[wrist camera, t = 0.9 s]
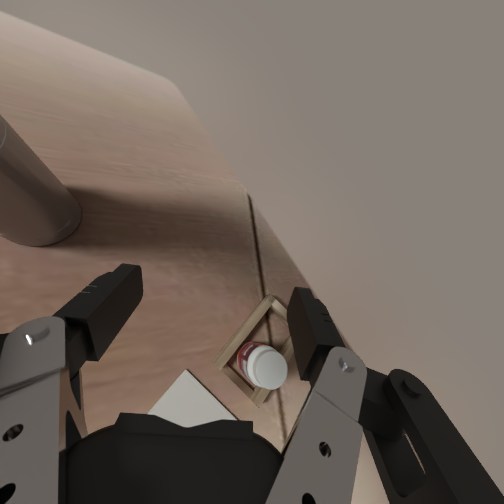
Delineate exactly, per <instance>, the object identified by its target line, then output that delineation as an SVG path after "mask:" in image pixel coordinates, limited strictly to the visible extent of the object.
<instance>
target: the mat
mask: <svg viewBox="0 0 504 504" xmlns="http://www.w3.org/2000/svg"><path fill="white" fill-rule="evenodd" d="M147 414H150V415H156V416H159V417H161V418H163V419H166V420H168V421H171V422H173V423H175V424H178V425H180V426H183V427H192V426H196V425H201V424H205V423H209V422H213V421H217V420H221V419H226V420H237V419H236V418H235V417H234V416H233V415H232V414H231V413H230V412H229V411H228V410H227V409H226V408H225V407H224V406H223V405H222V404H221V403H220V402H219V401H218V400H217V399H216V398H215V397H214V396H213V395H212V394H211V393H209V392H208V391H207V390H206V389H205V388H204V387H203V386H202V385H201V384H200V383H199V382H198V381H197V380H196V379H195V378H194V377H193V376H192V375H191V374H190V373H189V372H188V371H187V370H186V369H185V370H184V372H183V373H182V374H181V375H180V376H179V377H178V379H177V380H176V381H175V382H174V383H173V384H172V385H171V387H170V388H169V389H168V390H167V391H166V392H165V394H164V395H163V396H162V397H161V398H160V399H159V400H158V402H157V403H156V404H155V405H154V406H153V407H152V409H151V410H150V411H149V412H148V413H147Z"/></svg>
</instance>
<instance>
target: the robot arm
mask: <svg viewBox="0 0 504 504" xmlns="http://www.w3.org/2000/svg"><path fill="white" fill-rule="evenodd" d="M81 213H82V211H81V208H80V205H79V203H78V202H77V200H76V199H75V198H74V197H73V196H72V195H71V193H70V192H69V191H68V190H67V189H66V188H65V187H64V186H63V184H62V183H61V182H60V181H59V180H58V179H57V178H56V176H55V175H54V174H53V173H52V172H51V171H50V170H49V169H48V167H47V166H46V165H45V164H44V163H43V162H42V161H41V160H40V158H39V157H38V156H37V155H36V154H35V153H34V152H33V151H32V149H31V148H30V147H29V146H28V145H27V144H26V143H25V142H24V141H23V139H22V138H21V137H20V136H19V135H18V134H17V133H16V132H15V130H14V129H13V128H12V127H11V126H10V125H9V124H8V123H7V121H6V120H5V119H4V118H3V117H2V116H1V115H0V236H1V237H3V238H6V239H8V240H10V241H12V242H15V243H18V244H20V245H26V246H44V245H49V244H53V243H56V242H58V241H61V240H63V239H65V238H66V237H68V236H69V235H70V234H72V233H73V231H74V230H75V229H76V228H77V227H78V225H79V223H80V220H81ZM142 296H143V282H142V271H141V267H140V266H139V265H131V264H124V263H123V264H121V265H120V266H119V267H118V268H116V269H115V270H114V271H113V272H108V273H106V274H103V275H101V276H99V277H97V278H96V279H95V280H94V281H92V282H91V283H90V284H89V286H87V287H85V288H84V289H83V290H82V292H80V293H78V294H77V295H76V296H75V297H74V298H73V299H71V300H70V301H69V302H68V303H67V304H66V305H64V306H63V307H62V308H61V309H60V310H58V311H57V312H56V313H55V314H54V315H53V316H49V317H42V318H37V319H34V320H31V321H28V322H26V323H24V324H22V325H20V326H19V327H17V328H16V329H14V330H13V331H12V332H11V333H6V334H0V504H351V499H352V493H353V487H354V481H355V475H356V469H357V463H358V457H359V451H360V445H361V439H362V432H364V434H365V437H366V440H367V443H368V445H369V448H370V451H371V454H372V456H373V459H374V462H375V465H376V467H377V470H378V473H379V476H380V478H381V481H382V484H383V487H384V489H385V492H386V495H387V498H388V500H389V503H390V504H504V496H503V494H502V493H501V492H500V490H499V489H498V487H497V486H496V484H495V483H494V482H493V480H492V479H491V477H490V476H489V475H488V473H487V472H486V470H485V469H484V467H483V466H482V465H481V463H480V462H479V460H478V459H477V458H476V456H475V455H474V453H473V452H472V450H471V449H470V447H469V446H468V445H467V443H466V442H465V440H464V439H463V437H462V436H461V435H460V433H459V432H458V430H457V429H456V428H455V426H454V425H453V423H452V422H451V420H450V419H449V418H448V416H447V415H446V413H445V412H444V410H443V409H442V408H441V406H440V405H439V404H438V402H437V401H436V399H435V398H434V396H433V395H432V393H431V392H430V391H429V389H428V388H427V387H426V386H425V385H424V383H422V382H421V381H420V380H419V379H418V378H417V377H415V376H414V375H412V374H411V373H409V372H406V371H404V370H400V369H394V370H392V371H391V372H390V373H389V375H388V376H387V375H384V374H382V373H380V372H377V371H375V370H372V369H369V368H367V367H366V366H365V364H364V363H363V361H362V360H361V359H360V357H359V356H358V355H356V354H355V353H354V352H352V351H351V350H349V349H347V348H346V347H345V345H344V343H343V341H342V339H341V337H340V335H339V333H338V331H337V329H336V327H335V325H334V323H333V321H332V319H331V317H330V316H329V312H328V310H327V308H326V306H325V305H324V304H323V303H322V302H321V301H320V300H319V299H314V296H313V294H312V292H311V290H310V289H309V288H302V287H295V288H294V290H293V293H292V296H291V299H290V302H289V305H288V308H287V323H288V327H289V332H290V336H291V340H292V345H293V349H294V354H295V358H296V362H297V367H298V371H299V376H300V380H304V381H309V382H310V385H311V388H310V390H309V392H308V395H307V397H306V399H305V401H304V403H303V406H302V408H301V410H300V412H299V414H298V417H297V419H296V421H295V423H294V426H293V428H292V430H291V432H290V434H289V436H288V438H287V440H286V442H285V444H284V446H283V449H282V451H281V453H280V452H279V451H278V450H277V449H276V448H275V447H274V446H273V445H272V444H271V443H270V442H269V441H268V440H266V439H265V438H263V437H262V436H260V435H258V434H256V433H254V432H253V421H241V420H226V419H221V420H217V421H213V422H209V423H205V424H201V425H196V426H192V427H183V426H180V425H178V424H175V423H173V422H171V421H168V420H166V419H163V418H161V417H159V416H156V415H150V414H135V413H120V415H119V417H118V419H117V421H116V423H115V424H114V425H110V426H107V427H105V428H102V429H99V430H97V431H95V432H93V433H91V434H89V435H88V432H87V427H86V422H85V416H84V403H83V388H82V374H81V369H80V368H81V367H82V365H83V364H84V363H85V361H86V360H87V361H99V360H100V358H101V357H102V355H103V354H104V353H105V351H106V350H107V348H108V347H109V345H110V344H111V343H112V341H113V340H114V338H115V337H116V335H117V334H118V333H119V331H120V330H121V328H122V327H123V326H124V324H125V323H126V321H127V320H128V318H129V317H130V316H131V314H132V313H133V311H134V310H135V308H136V307H137V306H138V304H139V303H140V301H141V299H142ZM406 433H407V435H408V437H409V439H410V441H411V443H412V445H413V447H414V449H415V451H416V453H417V455H418V457H419V459H420V461H421V463H422V465H423V467H424V471H425V473H424V471H423V470H422V468H421V466H420V464H419V462H418V460H417V458H416V456H415V454H414V452H413V450H412V448H411V446H410V444H409V442H408V440H407V438H406V436H405V434H406Z"/></svg>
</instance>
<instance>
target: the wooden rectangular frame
mask: <svg viewBox="0 0 504 504" xmlns="http://www.w3.org/2000/svg"><path fill="white" fill-rule="evenodd" d="M269 308H270V309H271V310H272V311H273V312H274V313H275V314H276V315H277V316H278V317H279V318H280V319H281V320H282V321H283V322H284V323H285V324H286V325H287V326H288V323H287V310H286V309H285V308H284V307H283V306H282V305H281V304H280V303H279V302H278V301H277V300H276V299H275V298H274V297H273V296H272V295H271V294H269V295H266V296H265V298H264V299H263V300H262V301H261V303H260V304H259V305H258V306H257V307H256V309H255V310H254V311H253V312H252V314H251V315H250V316H249V317H248V318H247V320H246V321H245V322H244V323H243V325H242V326H241V327H240V328H239V329H238V331H237V332H236V333H235V334H234V336H233V337H232V338H231V339H230V340H229V342H228V343H227V344H226V345H225V347H224V348H223V349H222V350H221V351H220V353H219V354H218V355H217V356H216V358H215V359H214V360H213V363H214V364H215V365H216V366H217V367H218V368H219V369H220V370H222V371H223V372H224V373H225V374H226V375H227V376H228V377H229V378H230V379H231V380H232V381H233V382H234V383H235V384H236V385H237V386H238V387H239V388H240V389H241V390H242V391H243V392H244V393H245V394H246V395H247V396H248V397H249V398H250V399H251V400H252V401H253V402H254V403H255V404H256V405H257V406H258V407H259V408H260V406H261V405H262V403H263V401H264V400H265V398H266V397H267V395H268V393H269V392H270V390H269V389H266V388H261V387H258V386H256V387H255V388H254V390H252V389H251V388H250V387H249V386H248V385H247V384H246V383H245V382H244V381H243V380H242V379H241V378H240V377H239V376H238V375H237V374H236V373H235V372H234V371H233V370H232V369H231V368H230V367H229V366H228V365H227V364H226V362H227V361H228V360H229V359H230V357H231V356H232V355H233V354H234V352H235V351H236V350H237V348H238V347H239V346H240V345H241V343H242V342H243V341H244V339H245V338H246V337H247V336H248V334H249V333H250V332H251V330H252V329H253V328H254V327H255V325H256V324H257V323H258V322H259V320H260V319H261V318H262V316H263V315H264V314H265V313H266V311H267V310H268V309H269ZM279 353H280V354H281V355H282V356H283V357H284V359H285V361H286V363H288V362H289V360H290V359H291V357H292V355H293V354H294V349H293V345H292V340H291V336H289V338H288V339H287V341H286V342H285V344H284V345H283V347H282V348H281V350H280V351H279Z"/></svg>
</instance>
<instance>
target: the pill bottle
mask: <svg viewBox="0 0 504 504" xmlns="http://www.w3.org/2000/svg"><path fill="white" fill-rule="evenodd" d="M237 365H238V368H239V369H240V371H241V372H242V373H243V374H244V375H245V376H246V377H247V378H248V379H249V380H251V381H252V382H253V383H254V384H255V385H256V386H258V387H261V388H266V389H269V390H273V389H277V388H279V387H280V386H281V385H282V384H283V383H284V381H285V379H286V377H287V363H286V361H285V359H284V357H283V356H282V355H281V354H280V353H278V352H277V351H276V350H275V349H274V348H272V347H270V346H267V345H264V344H261V343H258V342H248V343H245V344H244V345H243V346H242V347H241V348H240V349H239V351H238V354H237Z"/></svg>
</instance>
